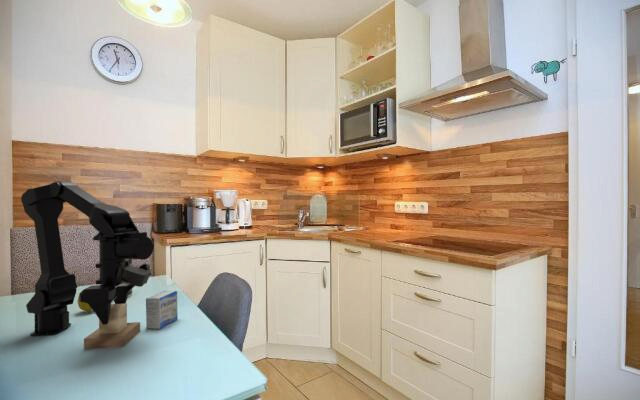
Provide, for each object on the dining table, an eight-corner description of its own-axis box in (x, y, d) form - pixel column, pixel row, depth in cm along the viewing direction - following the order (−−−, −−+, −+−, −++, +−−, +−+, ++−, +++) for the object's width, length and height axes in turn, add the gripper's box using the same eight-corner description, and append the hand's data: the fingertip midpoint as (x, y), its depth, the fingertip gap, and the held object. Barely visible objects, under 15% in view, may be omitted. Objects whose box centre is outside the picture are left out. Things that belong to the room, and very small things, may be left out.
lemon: (78, 316, 96) (78, 290, 96) (77, 312, 101) (76, 287, 101) (100, 312, 100) (100, 287, 100) (98, 307, 104) (97, 284, 104)
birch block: (99, 334, 78) (98, 310, 78) (108, 327, 82) (108, 304, 82) (118, 332, 78) (118, 309, 79) (126, 325, 83) (126, 303, 83)
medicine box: (159, 329, 86) (159, 298, 86) (145, 328, 87) (145, 297, 87) (178, 319, 94) (177, 290, 94) (165, 318, 95) (164, 289, 95)
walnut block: (84, 351, 75) (83, 338, 75) (104, 335, 84) (104, 324, 84) (123, 348, 76) (123, 336, 76) (140, 333, 85) (140, 322, 85)
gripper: (130, 264, 72) (131, 331, 72) (159, 250, 91) (159, 304, 91) (77, 266, 71) (78, 334, 71) (117, 252, 89) (118, 306, 89)
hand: (113, 318), depth 80 cm, fingers open, 8 cm apart
